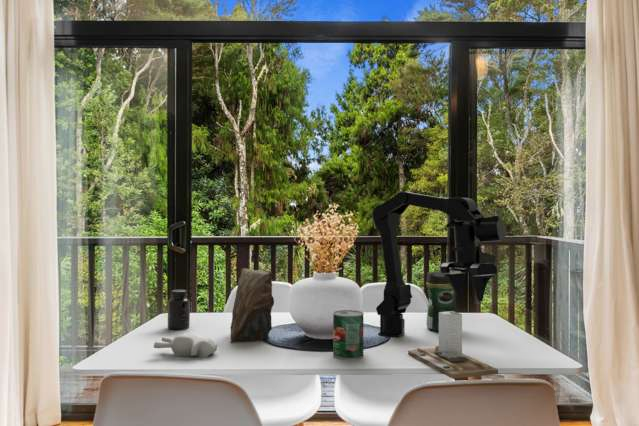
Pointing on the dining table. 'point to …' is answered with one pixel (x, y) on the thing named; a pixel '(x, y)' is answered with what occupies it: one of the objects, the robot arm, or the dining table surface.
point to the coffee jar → (439, 298)
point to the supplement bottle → (178, 310)
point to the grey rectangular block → (450, 337)
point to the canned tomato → (348, 334)
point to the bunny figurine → (188, 345)
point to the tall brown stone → (252, 307)
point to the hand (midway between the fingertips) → (469, 299)
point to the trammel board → (452, 364)
